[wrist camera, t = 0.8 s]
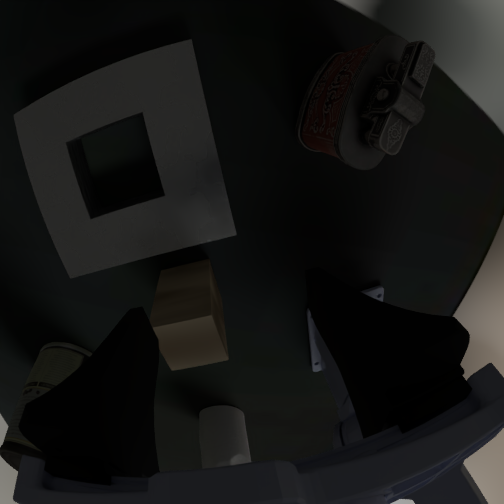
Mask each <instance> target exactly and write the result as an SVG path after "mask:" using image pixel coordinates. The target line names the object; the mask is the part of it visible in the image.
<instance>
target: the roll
mask: <svg viewBox="0 0 504 504" xmlns="http://www.w3.org/2000/svg"><path fill="white" fill-rule="evenodd" d="M199 423H200V435H199V441H200V446H201V456H202V469H203V468H213V467H222V466H229V465H236V464H243V463H249V462H251V458H250V452H249V446H248V439H247V433H246V427H245V419H244V413H243V412H242V411H241V410H240V409H238V408H236V407H233V406H228V405H218V406H211V407H207V408H205V409H203V410H201V411H200V413H199Z"/></svg>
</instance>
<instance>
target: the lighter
mask: <svg viewBox="0 0 504 504" xmlns="http://www.w3.org/2000/svg"><path fill="white" fill-rule="evenodd" d="M434 59H435V51H434V50H433V49H432V48H431V47H430V46H429V45H428V44H427V43H425V42H424V41H416V42H411V43H409V42H408V41H407V40H405V39H403V38H402V37H400V36H397V35H387V36H384V37H380V38H379V39H377V40H376V41H375V42H374V43H372V44H369V45H366V46H363V47H360V48H357V49H354V50H351V51H349V52H346V53H343V52H340V53H336V54H333V55H331V56H330V57H328V58H327V59H326V61H325V62H324V63H323V65H322V66H321V67H320V69H319V70H318V71H317V73H316V74H315V76H314V78H313V80H312V82H311V83H310V85H309V87H308V89H307V91H306V94H305V97H304V99H303V102H302V105H301V108H300V111H299V115H298V119H297V123H296V128H295V137H296V139H297V141H298V142H299V144H300V145H301V146H303V147H304V148H306V149H308V150H312V151H315V152H324V153H327V154H329V155H332V156H335V157H337V158H339V159H340V160H341V161H343V162H344V163H345V164H347V165H349V166H351V167H354V168H357V169H360V170H369V169H372V168H374V167H376V166H377V165H378V164H379V163H380V161H381V160H382V158H383V157H384V155H385V154H386V153H387V154H390V155H395V154H397V153H398V151H399V150H400V148H401V146H402V143H403V141H404V139H405V136H406V134H407V131H408V130H410V129H411V128H412V127H413V126H415V125H417V124H418V123H419V122H420V121H421V120H422V118H423V115H424V112H425V106H424V104H423V103H422V100H421V96H422V93H423V91H424V88H425V85H426V82H427V80H428V77H429V74H430V71H431V68H432V65H433V62H434Z"/></svg>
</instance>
